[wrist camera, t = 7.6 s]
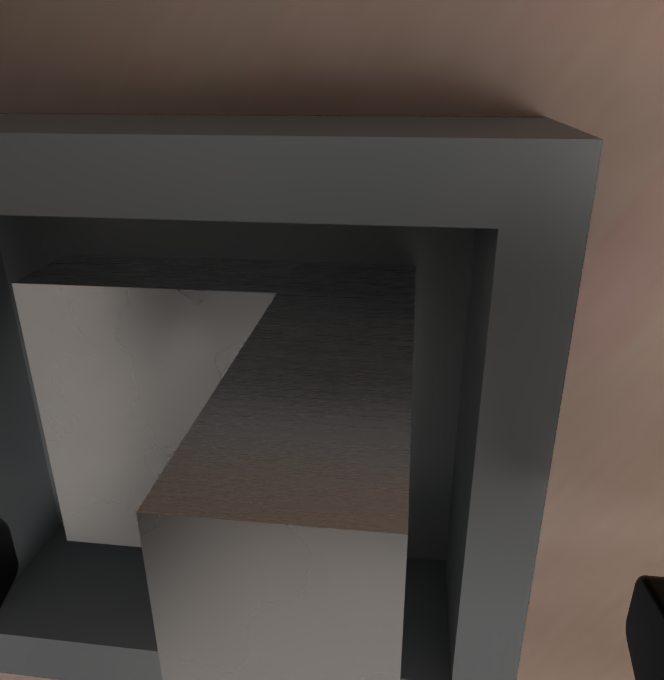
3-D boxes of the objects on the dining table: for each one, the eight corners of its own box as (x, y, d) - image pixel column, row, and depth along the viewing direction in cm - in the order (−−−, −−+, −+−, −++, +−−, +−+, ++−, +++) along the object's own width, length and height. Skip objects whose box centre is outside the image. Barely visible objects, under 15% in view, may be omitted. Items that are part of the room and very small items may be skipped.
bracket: (403, 509, 15) (387, 927, 8) (107, 486, 16) (-159, 841, 9) (416, 264, 13) (407, 534, 5) (67, 253, 14) (-350, 472, 6)
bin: (488, 584, 16) (507, 733, 13) (38, 542, 18) (-60, 665, 14) (546, 117, 12) (603, 139, 8) (-62, 113, 13) (-245, 130, 10)
